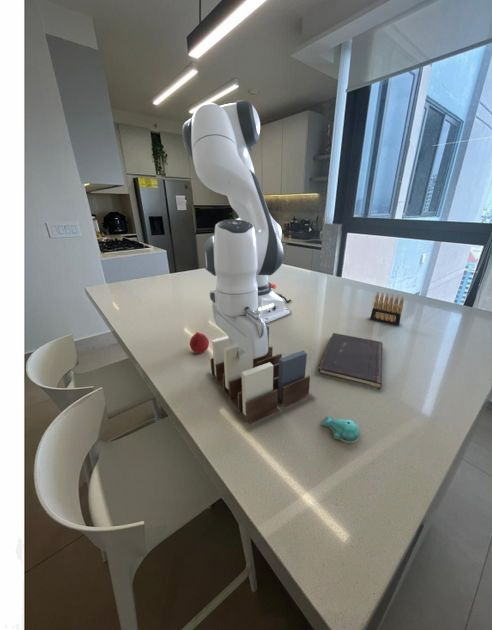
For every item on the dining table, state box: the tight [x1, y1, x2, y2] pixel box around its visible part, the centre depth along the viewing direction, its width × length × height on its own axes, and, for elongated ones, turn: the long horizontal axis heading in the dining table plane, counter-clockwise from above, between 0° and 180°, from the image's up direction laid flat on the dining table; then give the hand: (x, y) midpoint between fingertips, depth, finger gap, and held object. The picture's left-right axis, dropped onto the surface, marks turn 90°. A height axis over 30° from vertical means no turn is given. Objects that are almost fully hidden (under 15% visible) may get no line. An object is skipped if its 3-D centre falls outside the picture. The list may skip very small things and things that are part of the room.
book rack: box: [209, 346, 312, 426], centre depth 67 cm, size 18×22×6 cm
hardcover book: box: [318, 332, 384, 390], centre depth 79 cm, size 16×23×2 cm
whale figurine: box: [321, 416, 360, 444], centre depth 53 cm, size 6×7×4 cm
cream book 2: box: [223, 344, 253, 390], centre depth 62 cm, size 7×2×11 cm, turn 121°
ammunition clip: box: [369, 291, 405, 327], centre depth 102 cm, size 11×2×12 cm, turn 55°
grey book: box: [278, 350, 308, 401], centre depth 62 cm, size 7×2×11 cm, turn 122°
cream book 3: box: [242, 362, 273, 416], centre depth 57 cm, size 7×2×11 cm, turn 122°
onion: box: [189, 330, 210, 354], centre depth 81 cm, size 6×6×8 cm
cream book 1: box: [211, 335, 231, 376], centre depth 69 cm, size 7×2×11 cm, turn 122°
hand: (239, 355), depth 61 cm, fingers closed on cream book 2, 1 cm apart
